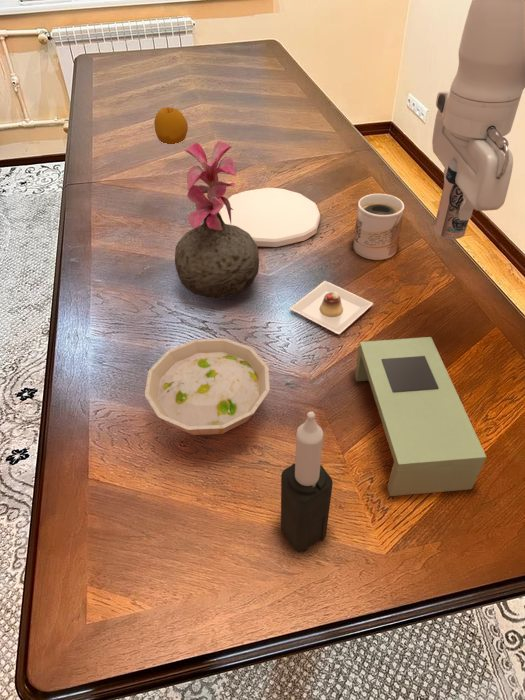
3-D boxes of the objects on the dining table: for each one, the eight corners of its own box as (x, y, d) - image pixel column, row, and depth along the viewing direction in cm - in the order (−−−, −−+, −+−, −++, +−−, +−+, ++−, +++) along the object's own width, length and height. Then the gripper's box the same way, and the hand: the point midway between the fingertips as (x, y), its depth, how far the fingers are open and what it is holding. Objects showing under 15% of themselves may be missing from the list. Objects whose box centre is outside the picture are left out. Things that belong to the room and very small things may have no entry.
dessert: (288, 312, 107) (289, 293, 103) (324, 284, 113) (326, 265, 110) (338, 338, 101) (340, 319, 97) (373, 307, 107) (376, 288, 104)
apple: (193, 141, 167) (189, 102, 159) (183, 154, 161) (178, 114, 152) (164, 139, 169) (158, 100, 161) (152, 152, 162) (146, 112, 154)
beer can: (445, 244, 82) (464, 169, 74) (426, 229, 85) (443, 156, 77) (470, 237, 83) (492, 163, 75) (451, 223, 87) (470, 150, 78)
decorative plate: (337, 220, 124) (233, 240, 118) (336, 236, 126) (235, 256, 121) (298, 174, 141) (206, 190, 136) (298, 189, 144) (208, 205, 138)
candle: (298, 555, 71) (305, 440, 53) (277, 525, 74) (277, 407, 57) (329, 535, 73) (345, 418, 55) (307, 507, 76) (316, 387, 58)
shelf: (422, 370, 95) (431, 335, 89) (471, 489, 77) (487, 456, 72) (354, 375, 94) (359, 340, 88) (389, 496, 77) (398, 463, 71)
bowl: (282, 383, 93) (282, 341, 86) (256, 477, 79) (254, 436, 72) (176, 367, 96) (169, 325, 89) (134, 454, 83) (121, 413, 76)
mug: (344, 253, 121) (348, 209, 114) (360, 227, 129) (366, 184, 121) (389, 264, 118) (397, 219, 110) (403, 237, 126) (412, 193, 118)
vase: (181, 318, 106) (158, 174, 85) (177, 267, 118) (156, 131, 98) (265, 308, 108) (262, 164, 87) (252, 259, 120) (248, 124, 99)
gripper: (537, 144, 64) (503, 243, 74) (475, 87, 79) (454, 176, 89) (485, 147, 64) (458, 246, 74) (433, 89, 79) (416, 178, 88)
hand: (455, 207), depth 81 cm, fingers closed on beer can, 5 cm apart
